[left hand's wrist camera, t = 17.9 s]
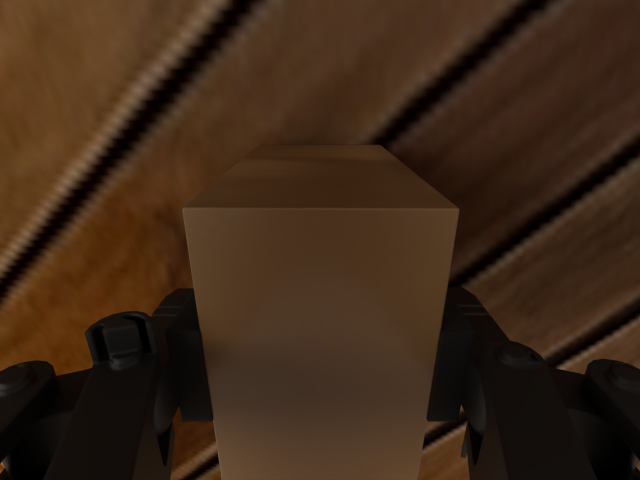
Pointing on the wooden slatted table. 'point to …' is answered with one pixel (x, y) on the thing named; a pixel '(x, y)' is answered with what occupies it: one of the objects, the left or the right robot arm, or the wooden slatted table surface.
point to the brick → (320, 310)
